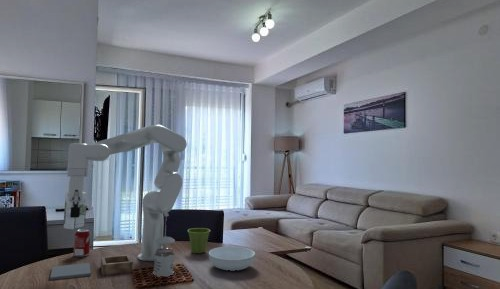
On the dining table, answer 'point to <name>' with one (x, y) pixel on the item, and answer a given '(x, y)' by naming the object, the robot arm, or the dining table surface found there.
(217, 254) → the serving bowl
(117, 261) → the holder
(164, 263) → the french press
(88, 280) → the dining table surface
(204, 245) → the plant pot
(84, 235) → the soda can
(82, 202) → the syrup box
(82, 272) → the mat
